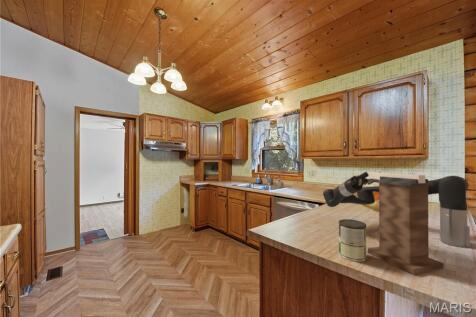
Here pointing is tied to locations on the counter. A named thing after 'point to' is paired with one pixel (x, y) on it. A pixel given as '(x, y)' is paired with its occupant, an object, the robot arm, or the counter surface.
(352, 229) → the coffee can
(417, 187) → the stand
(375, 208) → the bread
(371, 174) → the slat
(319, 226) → the counter surface
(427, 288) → the counter surface
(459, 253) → the counter surface
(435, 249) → the counter surface
